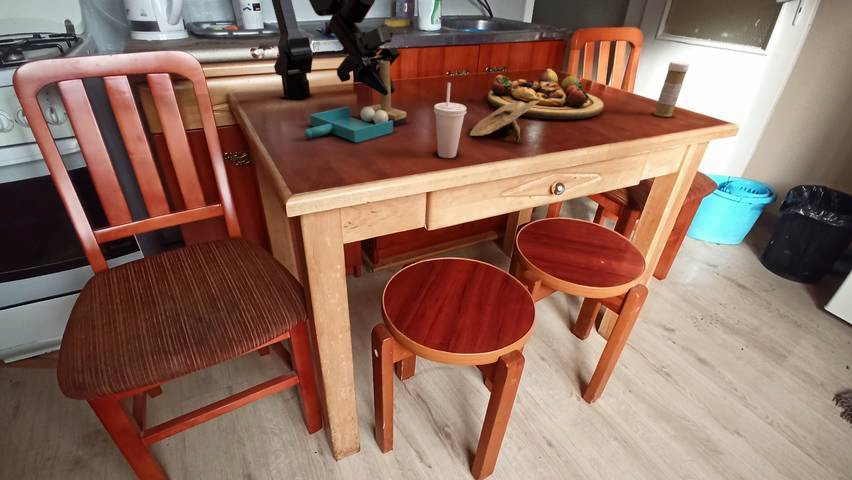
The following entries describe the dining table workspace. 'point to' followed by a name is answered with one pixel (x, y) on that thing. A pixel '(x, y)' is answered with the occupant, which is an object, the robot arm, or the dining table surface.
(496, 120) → the tan wooden pointed piece
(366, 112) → the beige rounded piece
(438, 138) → the smoothie
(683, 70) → the sprinkles bottle
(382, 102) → the brush
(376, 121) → the cream oval piece
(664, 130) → the dining table surface
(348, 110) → the dustpan
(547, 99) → the wooden plate
